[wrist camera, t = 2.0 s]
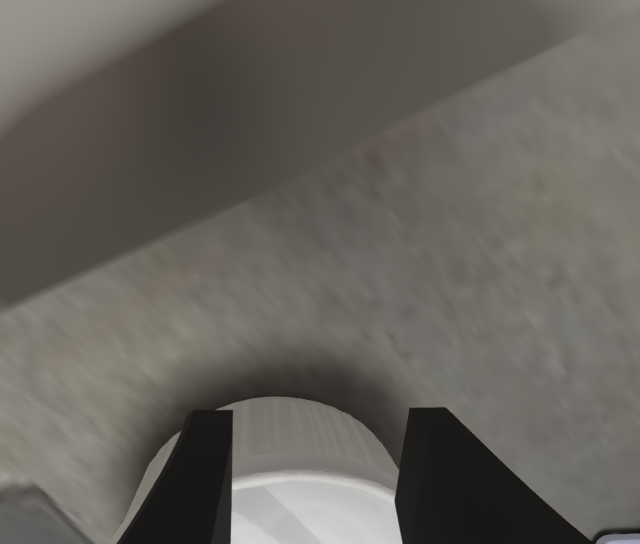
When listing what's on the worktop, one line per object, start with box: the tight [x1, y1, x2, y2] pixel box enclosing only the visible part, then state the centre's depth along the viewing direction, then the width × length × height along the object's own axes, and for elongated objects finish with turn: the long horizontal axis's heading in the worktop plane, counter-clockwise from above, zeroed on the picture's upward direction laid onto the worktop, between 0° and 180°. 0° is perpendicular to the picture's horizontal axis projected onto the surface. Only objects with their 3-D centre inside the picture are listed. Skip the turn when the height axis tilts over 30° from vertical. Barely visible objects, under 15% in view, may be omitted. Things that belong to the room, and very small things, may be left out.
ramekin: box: [109, 397, 402, 544], centre depth 21 cm, size 11×11×5 cm
